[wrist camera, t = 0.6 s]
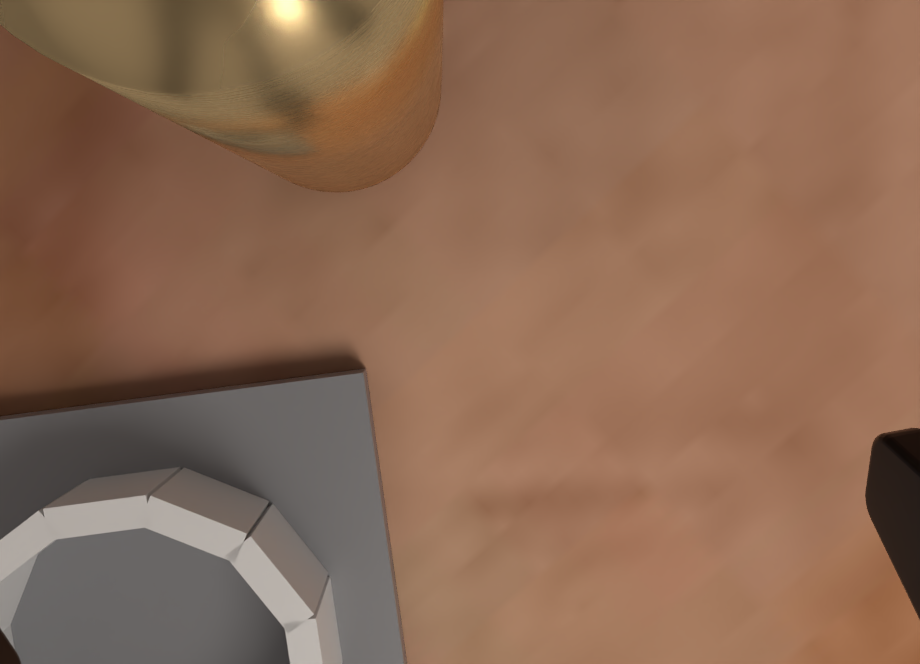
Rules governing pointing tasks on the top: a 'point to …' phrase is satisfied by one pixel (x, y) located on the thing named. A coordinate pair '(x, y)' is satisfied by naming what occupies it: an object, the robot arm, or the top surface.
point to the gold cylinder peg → (263, 74)
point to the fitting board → (182, 578)
